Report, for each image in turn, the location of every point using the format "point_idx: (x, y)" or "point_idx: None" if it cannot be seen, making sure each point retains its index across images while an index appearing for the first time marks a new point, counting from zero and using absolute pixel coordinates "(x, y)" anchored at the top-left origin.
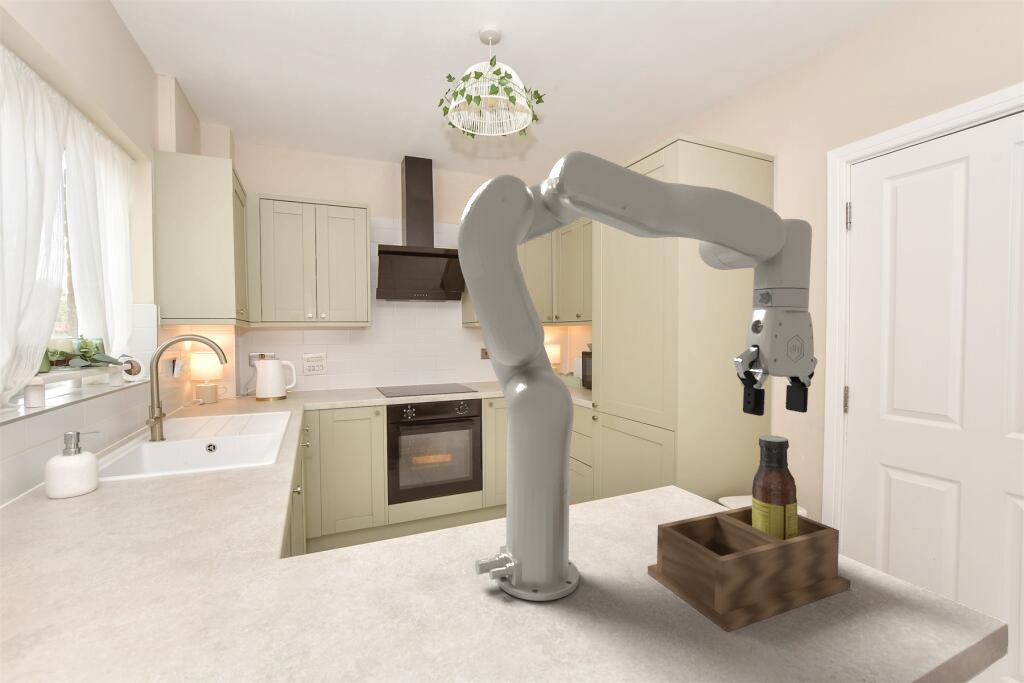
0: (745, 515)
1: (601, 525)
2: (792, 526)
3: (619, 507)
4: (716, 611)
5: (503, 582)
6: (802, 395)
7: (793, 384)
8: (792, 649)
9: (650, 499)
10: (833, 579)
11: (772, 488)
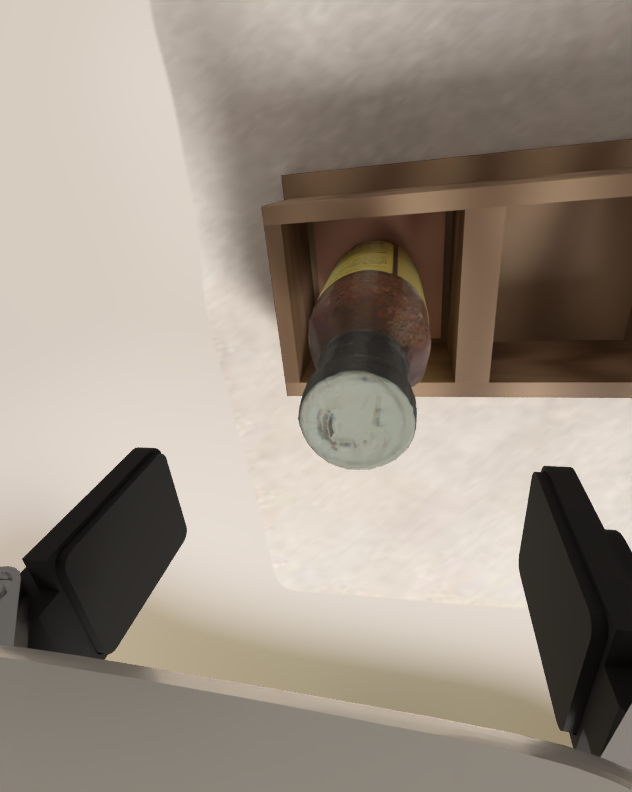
0: None
1: None
2: (373, 255)
3: (445, 572)
4: None
5: None
6: (103, 528)
7: (74, 644)
8: (624, 31)
9: (358, 571)
10: (312, 191)
11: (420, 311)
